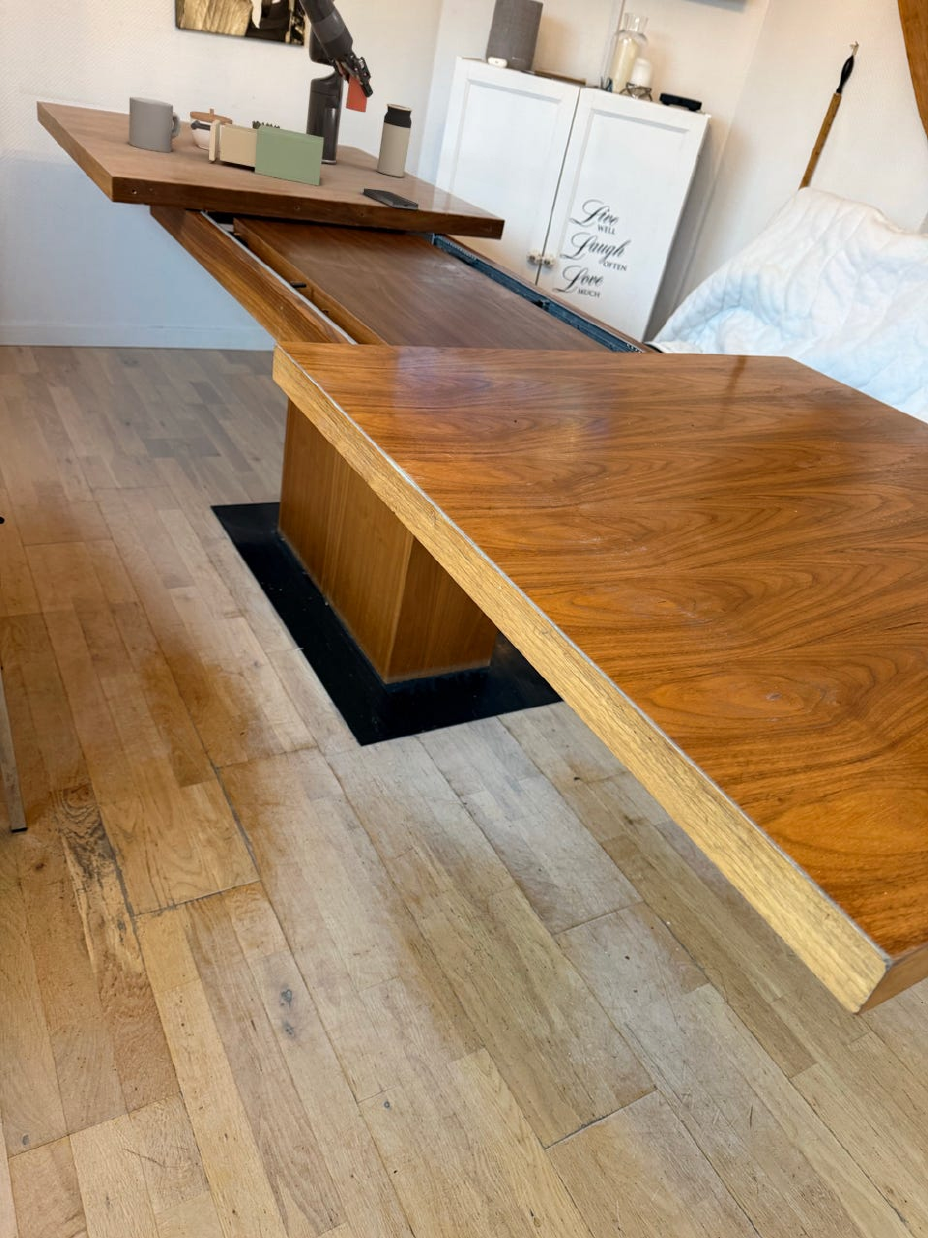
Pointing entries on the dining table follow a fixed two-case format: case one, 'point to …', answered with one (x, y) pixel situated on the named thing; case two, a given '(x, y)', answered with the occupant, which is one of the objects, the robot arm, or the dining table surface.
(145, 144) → the coffee mug
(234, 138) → the drawer
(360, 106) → the tea tin
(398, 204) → the phone
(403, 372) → the dining table surface
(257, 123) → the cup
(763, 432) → the dining table surface
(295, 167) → the cabinet
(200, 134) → the lidded white pot
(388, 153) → the travel mug
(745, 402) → the dining table surface
